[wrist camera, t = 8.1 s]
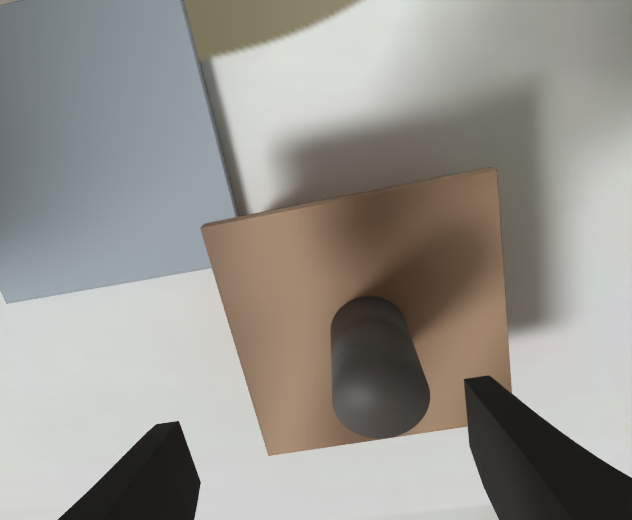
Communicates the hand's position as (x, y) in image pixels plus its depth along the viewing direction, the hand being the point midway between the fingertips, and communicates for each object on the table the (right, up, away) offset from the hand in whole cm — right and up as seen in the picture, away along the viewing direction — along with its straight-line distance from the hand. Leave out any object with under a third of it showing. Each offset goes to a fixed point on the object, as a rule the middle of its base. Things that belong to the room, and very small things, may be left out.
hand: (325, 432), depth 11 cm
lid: (+2, +2, +6) cm, 7 cm away
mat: (-10, +9, +7) cm, 15 cm away
